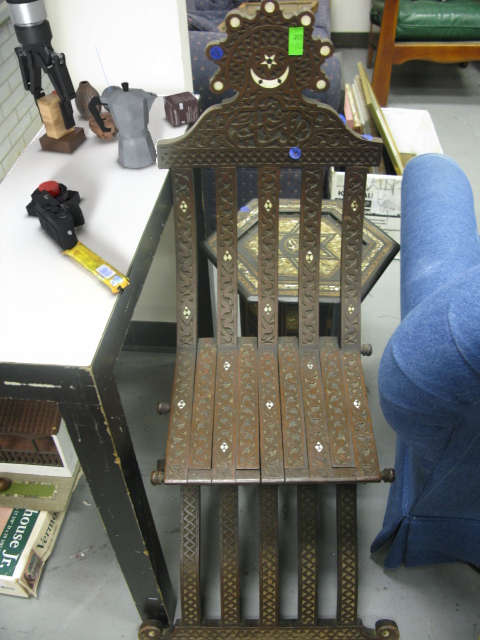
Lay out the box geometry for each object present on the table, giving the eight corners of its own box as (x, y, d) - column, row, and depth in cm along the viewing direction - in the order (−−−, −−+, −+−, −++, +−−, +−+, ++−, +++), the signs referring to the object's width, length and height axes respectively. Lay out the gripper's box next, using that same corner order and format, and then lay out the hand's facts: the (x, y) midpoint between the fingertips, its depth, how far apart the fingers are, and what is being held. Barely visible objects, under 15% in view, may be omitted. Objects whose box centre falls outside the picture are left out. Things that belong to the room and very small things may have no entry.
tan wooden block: (57, 139, 134) (46, 101, 128) (47, 136, 136) (36, 98, 129) (75, 129, 138) (65, 92, 131) (64, 126, 139) (54, 89, 133)
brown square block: (42, 150, 137) (38, 138, 135) (58, 135, 143) (55, 124, 140) (70, 153, 135) (67, 142, 133) (86, 138, 141) (83, 127, 139)
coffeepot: (164, 147, 136) (154, 71, 123) (167, 165, 129) (156, 87, 117) (101, 153, 135) (84, 78, 122) (100, 173, 128) (82, 95, 115)
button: (36, 196, 115) (34, 189, 113) (47, 187, 117) (44, 179, 116) (54, 199, 114) (51, 191, 113) (63, 189, 116) (61, 181, 115)
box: (200, 121, 146) (174, 128, 144) (190, 112, 150) (165, 119, 147) (198, 98, 141) (171, 105, 139) (188, 90, 145) (162, 96, 143)
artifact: (104, 128, 144) (100, 109, 141) (128, 133, 141) (124, 114, 138) (85, 141, 139) (81, 121, 136) (109, 146, 137) (105, 127, 133)
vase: (82, 123, 147) (74, 89, 141) (75, 113, 151) (67, 80, 145) (107, 116, 149) (100, 83, 143) (99, 107, 154) (92, 75, 147)
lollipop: (136, 65, 133) (115, 82, 131) (132, 108, 153) (114, 123, 151) (107, 36, 133) (85, 53, 131) (107, 83, 152) (88, 98, 150)
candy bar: (112, 290, 95) (115, 297, 97) (131, 276, 97) (133, 284, 99) (58, 247, 104) (61, 255, 105) (76, 236, 105) (79, 243, 107)
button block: (28, 215, 116) (22, 199, 113) (48, 195, 122) (43, 179, 119) (62, 220, 114) (57, 203, 112) (80, 200, 120) (76, 183, 117)
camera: (101, 243, 108) (92, 208, 102) (67, 258, 105) (56, 223, 99) (68, 212, 116) (58, 178, 111) (36, 226, 113) (24, 191, 107)
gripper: (77, 22, 117) (100, 126, 133) (11, 10, 125) (41, 110, 141) (51, 33, 113) (78, 139, 129) (-15, 20, 121) (18, 121, 137)
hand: (58, 123), depth 135 cm, fingers open, 7 cm apart
